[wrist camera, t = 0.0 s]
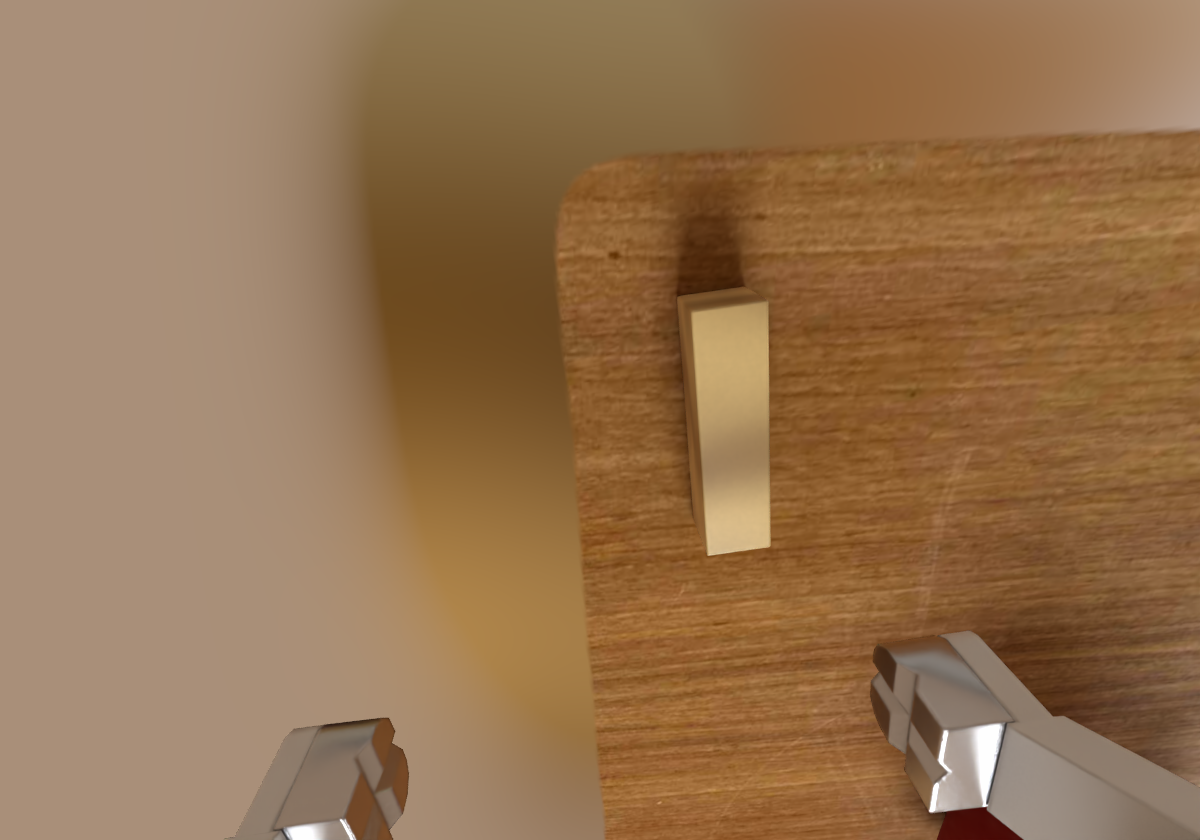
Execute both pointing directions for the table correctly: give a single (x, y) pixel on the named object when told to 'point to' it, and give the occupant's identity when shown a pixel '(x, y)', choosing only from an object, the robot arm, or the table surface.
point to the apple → (974, 826)
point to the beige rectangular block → (727, 416)
